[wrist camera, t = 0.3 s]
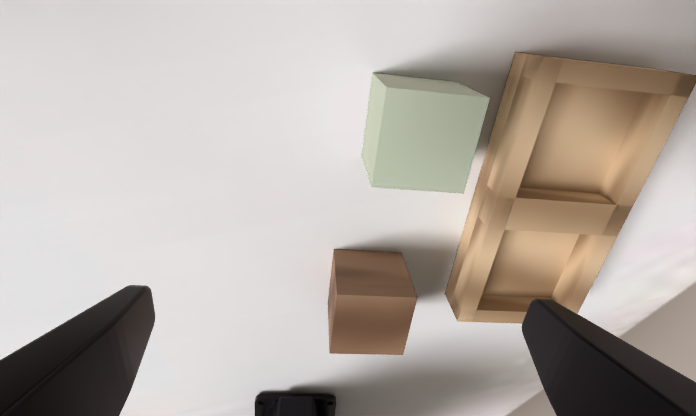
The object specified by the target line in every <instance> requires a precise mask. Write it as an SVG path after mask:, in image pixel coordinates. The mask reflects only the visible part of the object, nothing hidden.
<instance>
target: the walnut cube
mask: <svg viewBox="0 0 696 416" xmlns="http://www.w3.org/2000/svg"><path fill="white" fill-rule="evenodd" d="M416 301H417V296H416V293H415V290H414V287H413V284H412V281H411V279H410V276H409V273H408V270H407V267H406V264H405V262H404V259H403V256H402V253H397V252H377V251H358V250H339V249H334V252H333V261H332V270H331V279H330V288H329V298H328V319H329V348H330V353H337V354H388V355H403V353H404V349H405V345H406V341H407V337H408V333H409V329H410V325H411V321H412V317H413V313H414V309H415V305H416Z"/></svg>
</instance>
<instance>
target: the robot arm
mask: <svg viewBox="0 0 696 416" xmlns="http://www.w3.org/2000/svg"><path fill="white" fill-rule="evenodd" d="M154 322H155V311H154V305H153V299H152V293H151V289H150V288H149V287H148V286H141V285H129V286H127V287H125V288H123V289H121V290H120V291H118V292H116V293H115V294H113V295H111V296H109V297H108V298H106V299H104V300H103V301H101V302H99V303H97V304H96V305H94V306H92V307H91V308H89V309H87V310H85V311H84V312H82V313H80V314H79V315H77V316H75V317H73V318H72V319H70V320H68V321H67V322H65V323H63V324H61V325H60V326H58V327H56V328H55V329H53V330H51V331H49V332H48V333H46V334H44V335H43V336H41V337H39V338H37V339H36V340H34V341H32V342H31V343H29V344H27V345H25V346H24V347H22V348H20V349H19V350H17V351H15V352H13V353H12V354H10V355H8V356H7V357H5V358H3V359H1V360H0V416H119V415H120V412H121V410H122V408H123V406H124V404H125V402H126V400H127V397H128V395H129V393H130V391H131V388H132V385H133V383H134V380H135V377H136V374H137V372H138V369H139V366H140V363H141V360H142V357H143V355H144V352H145V349H146V346H147V343H148V340H149V338H150V335H151V332H152V329H153V326H154ZM522 332H523V335H524V338H525V341H526V343H527V346H528V349H529V351H530V354H531V356H532V359H533V362H534V364H535V367H536V369H537V372H538V375H539V377H540V380H541V383H542V385H543V387H544V390H545V392H546V394H547V396H548V399H549V401H550V403H551V405H552V407H553V409H554V411H555V413H556V415H557V416H696V382H694V381H692V380H691V379H689V378H687V377H685V376H684V375H682V374H680V373H679V372H677V371H675V370H673V369H672V368H670V367H668V366H666V365H665V364H663V363H661V362H660V361H658V360H656V359H654V358H652V357H651V356H649V355H647V354H646V353H644V352H642V351H640V350H639V349H637V348H635V347H633V346H632V345H630V344H628V343H627V342H625V341H623V340H621V339H620V338H618V337H616V336H614V335H613V334H611V333H609V332H607V331H606V330H604V329H602V328H601V327H599V326H597V325H595V324H594V323H592V322H590V321H588V320H587V319H585V318H583V317H581V316H580V315H578V314H576V313H574V312H573V311H571V310H569V309H568V308H566V307H564V306H562V305H561V304H559V303H557V302H555V301H554V300H552V299H541V298H536V299H533V300H532V301H531V303H530V305H529V308H528V310H527V313H526V315H525V318H524V320H523V323H522ZM335 408H336V397H335V396H334V395H310V394H259V395H257V396H256V399H255V416H334V415H335Z"/></svg>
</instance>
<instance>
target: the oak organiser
mask: <svg viewBox="0 0 696 416" xmlns="http://www.w3.org/2000/svg"><path fill="white" fill-rule="evenodd" d="M695 84H696V75H691V74H685V73H679V72H672V71H666V70H660V69H653V68H644V67H636V66H628V65H619V64H611V63H602V62H594V61H585V60H577V59H569V58H560V57H552V56H543V55H535V54H527V53H518V52H515V55H514V58H513V61H512V65H511V68H510V72H509V75H508V79H507V82H506V86H505V89H504V92H503V96H502V99H501V103H500V106H499V110H498V113H497V116H496V120H495V123H494V127H493V130H492V134H491V137H490V141H489V144H488V147H487V151H486V154H485V158H484V161H483V165H482V168H481V171H480V175H479V178H478V182H477V185H476V189H475V192H474V196H473V199H472V202H471V206H470V209H469V213H468V216H467V220H466V223H465V226H464V230H463V233H462V237H461V240H460V244H459V247H458V250H457V254H456V257H455V261H454V264H453V268H452V271H451V275H450V278H449V281H448V285H447V288H446V292H445V295H446V297H447V299H448V302H449V304H450V306H451V308H452V310H453V313H454V315H455V317H456V319H457V321H460V322H493V323H523V320H524V318H525V315H526V313H527V310H528V308H529V305H530V303H531V301H532V300H533V299H536V298H541V299H552V300H554V301H555V302H557V303H559V304H561V305H562V306H564V307H566V308H568V309H569V310H571V311H573V312H574V313H576V314H577V313H578V311H579V309H580V308H581V306H582V304H583V302H584V300H585V298H586V296H587V294H588V292H589V290H590V288H591V286H592V284H593V282H594V280H595V278H596V276H597V274H598V273H599V271H600V269H601V267H602V265H603V263H604V261H605V259H606V257H607V255H608V253H609V251H610V249H611V247H612V245H613V243H614V241H615V239H616V238H617V236H618V234H619V232H620V230H621V228H622V226H623V224H624V222H625V220H626V218H627V216H628V214H629V212H630V210H631V208H632V206H633V204H634V203H635V201H636V199H637V197H638V195H639V193H640V191H641V189H642V187H643V185H644V183H645V181H646V179H647V177H648V175H649V173H650V171H651V169H652V168H653V166H654V164H655V162H656V160H657V158H658V156H659V154H660V152H661V150H662V148H663V146H664V144H665V142H666V140H667V138H668V136H669V134H670V133H671V131H672V129H673V127H674V125H675V123H676V121H677V119H678V117H679V115H680V113H681V111H682V109H683V107H684V105H685V103H686V101H687V99H688V98H689V96H690V94H691V92H692V90H693V88H694V86H695Z"/></svg>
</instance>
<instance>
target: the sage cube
mask: <svg viewBox="0 0 696 416" xmlns="http://www.w3.org/2000/svg"><path fill="white" fill-rule="evenodd" d="M489 100H490V98H489V97H487V96H485V95H483V94H481V93H478V92H476V91H474V90H472V89H470V88H468V87H466V86H464V85H462V84H460V83H457V82H454V81H444V80H435V79H426V78H416V77H407V76H398V75H388V74H379V73H372V80H371V88H370V95H369V103H368V110H367V118H366V125H365V133H364V141H363V148H362V158H363V162H364V165H365V168H366V171H367V174H368V178H369V181H370V184H371V187H379V188H393V189H407V190H421V191H435V192H449V193H463V194H464V190H465V187H466V183H467V179H468V176H469V172H470V169H471V165H472V161H473V158H474V154H475V150H476V147H477V143H478V140H479V136H480V132H481V129H482V125H483V122H484V118H485V114H486V111H487V107H488V103H489Z"/></svg>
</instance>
